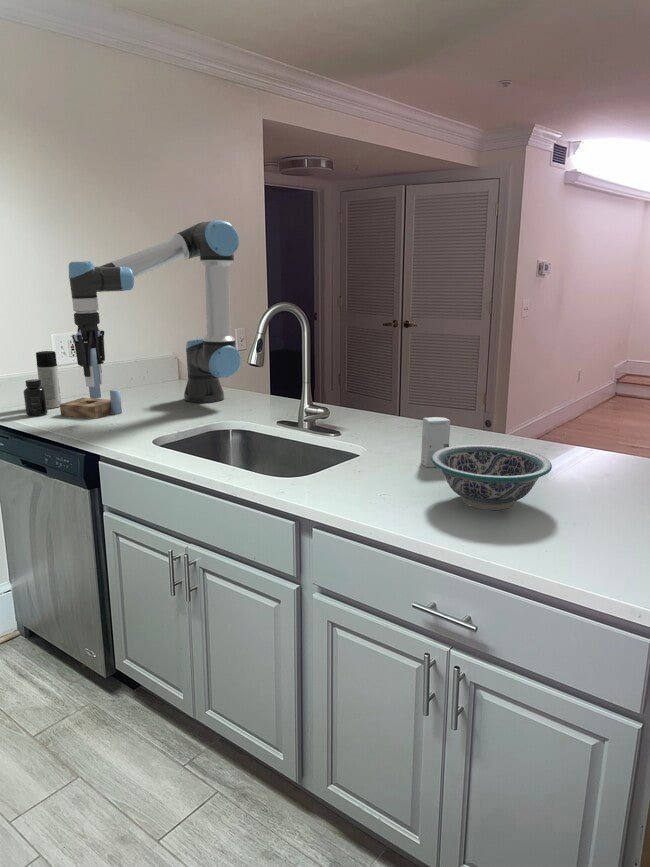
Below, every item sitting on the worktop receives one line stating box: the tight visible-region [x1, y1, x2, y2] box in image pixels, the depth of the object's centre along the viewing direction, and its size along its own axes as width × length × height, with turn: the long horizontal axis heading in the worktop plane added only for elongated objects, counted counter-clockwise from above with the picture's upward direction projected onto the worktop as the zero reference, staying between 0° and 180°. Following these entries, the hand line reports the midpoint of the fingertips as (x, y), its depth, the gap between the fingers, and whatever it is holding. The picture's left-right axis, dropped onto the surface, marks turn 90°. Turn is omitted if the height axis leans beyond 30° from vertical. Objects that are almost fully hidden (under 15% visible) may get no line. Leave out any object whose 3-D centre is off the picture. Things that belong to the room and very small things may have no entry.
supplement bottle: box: [23, 378, 49, 417], centre depth 223 cm, size 7×7×12 cm
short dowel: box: [109, 389, 123, 415], centre depth 225 cm, size 3×3×8 cm
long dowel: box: [88, 348, 102, 399], centre depth 210 cm, size 3×3×16 cm
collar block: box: [59, 397, 112, 419], centre depth 226 cm, size 14×12×4 cm
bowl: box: [431, 443, 553, 511], centre depth 141 cm, size 25×25×10 cm
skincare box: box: [420, 416, 451, 468], centre depth 167 cm, size 6×4×12 cm
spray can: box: [35, 350, 62, 409], centre depth 234 cm, size 7×7×20 cm
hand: (94, 385), depth 211 cm, fingers closed on long dowel, 3 cm apart
